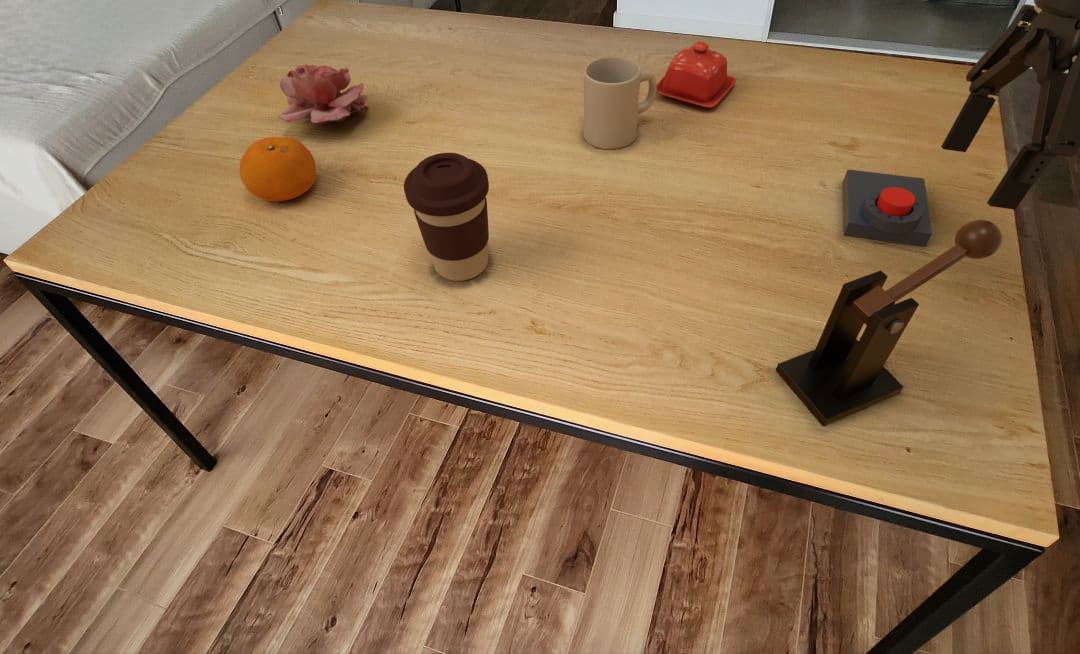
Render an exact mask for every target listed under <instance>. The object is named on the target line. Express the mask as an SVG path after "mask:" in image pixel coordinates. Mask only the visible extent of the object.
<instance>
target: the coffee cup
mask: <svg viewBox="0 0 1080 654" xmlns="http://www.w3.org/2000/svg"><path fill="white" fill-rule="evenodd" d="M489 189H490V183H489V175H488V171H487V170H486V168H485V167H484V165H482V164H481V163H480V162H478V161H476V160H474V159H472V158H468V157H467V156H466V155H463V154H460V153H456V152H441V153H436V154H433V155H430V156H428V157H425V158H424V159H422V160H420V162H419V163H418V164H417V165H416V166H415V167H413V169H411V170H410V171H409V172H408V174H407V175H406V177H405V179H404V182H403V191H404V196H405V199H406V201H407V203H408V205H409V206H410V207H411V208H412V209H413V212H414V216H415V219H416V222H417V226H418V229H419V231H420V234H421V237H422V240H423V243H424V246H425V248H426V250H427V251H428V253H429V255H430V258H431V262H432V265H433V268H434V269H435V271H436V273H437V274H438V275H439V276H440V277H442V278H443V279H445V280H448V281H454V282H455V281H456V282H462V281H468V280H471V279H474V278H476V277H477V276H479V275H481V274H482V273H483V272H484V271H485V269H486V268H487V266H488V263H489V243H488V242H489V238H490V233H489V215H488V214H489V213H488V200H487V195H488V193H489Z"/></svg>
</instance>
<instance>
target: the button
mask: <svg viewBox="0 0 1080 654" xmlns="http://www.w3.org/2000/svg"><path fill="white" fill-rule="evenodd" d="M914 202H915V197H914V195H913V194H912V193H911V192H909V191H908V190H905V189H903V188H899V187H889V188H886V189H884V190H883V191H882V192H881V194H880V197H879V199H878V201H877V208H878V209H879V210H880V211H881V212H884V213H886V214H888V215H890V216H897V217H903V216H906V215H908V214H909V212H910V210H911V208H912V206H913V204H914Z"/></svg>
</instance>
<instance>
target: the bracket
mask: <svg viewBox="0 0 1080 654" xmlns="http://www.w3.org/2000/svg"><path fill="white" fill-rule="evenodd" d="M887 279H888V275H887V274H886V273H885V272H883V271H882V270H878V271H875V272H873V273H870V274H867V275H864V276H861V277H859V278H857V279H852V280H851V281H847V282H845V283H843V285H842V287H841V289H840V292H839V294H838V296H837V298H836V300H835V303H834V305H833V307H832V310H831V312H830V314H829V317H828V319H827V321H826V323H825V325H824V328H823V331H822V333H821V335H820V337H819V339H818V342H817V345H816V346H815V349H812V350H811V351H807V352H804V353H802V354H799V355H797V356H794V357H792V358H790V359H787V360H784V361H781V362H779V363H778V364H777V365H776V369H775V372H776V373H777V374H778V375H779V376H780V377H781V378H782V380H783V381H784V382H785V383H786V384H787V385H788V387H789V388H790V389H791V390H792V392H793V393H794V394H795V395H796V396H797V397H798V399H799V400H800V401H801V402H802V403H803V405H804V406H805V407H806V408H807V409H808V411H810V413H811V414H812V415H813V417H815V419H816V420H817V421H818V422H819V424H820V425H821V426H822V427H824V426H827V425H829V424H832V423H834V422H836V421H838V420H841V419H843V418H845V417H848V416H850V415H852V414H854V413H857V412H859V411H862V410H864V409H866V408H868V407H871V406H873V405H876V404H878V403H881V402H882V401H885V400H887V399H890V398H893V397H894V396H897V395H899V394H901V393H902V391H903V389H904V387H905V386H904V385H903V384H902V383H901V382H900V381H899V380H898V379H897V378H896V377H895V376H894V375H893V374H892V373H891V372H890V371H889V370H888V369H887V368H886V367H885V364H886V362H887V360H888V359H889V357H890V356H891V354H892V352H893V350H895V347H896V345H897V344H898V342H899V341H900V338H901V337H902V335H903V333H904V332H905V330H906V328H907V327H908V325H909V323H910V321H911V320H912V318H913V316H914V314H915V312H916V311H917V309H918V307H919V306H920V304H919V302H918V301H916V300H915V299H914V298H913V297H909V298H907V299H904V300H902V301H898V302H897V303H896V302H895V304H894V305H891V306H889V307H886V308H884V309H881V310H878V311H876V312H874V313H873V314H872V316H871V318H870V320H869V322H868V324H867V325H865V323H864V322H863V321H862V320H861V319H860V318H859V317H858V316H857V315H855V313H854V304H853V302H854V301H855V300H857V299H858V298H860V297H861V296H863V295H864V294H866V293H867V292H869V291H870V290H872V289H874V288H875V287H877V286H878V285H879V286H880V287H881V288H882V289H883V287H884V285H885V283H886V281H887ZM864 325H865V328H864V329H863V327H864ZM862 329H863V330H864V331H863V332H862V334H861V336H860V338H859V340H858V336H859V335H860V333H861V331H862Z"/></svg>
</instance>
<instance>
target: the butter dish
mask: <svg viewBox="0 0 1080 654" xmlns="http://www.w3.org/2000/svg"><path fill="white" fill-rule="evenodd" d="M736 82H737V78H735V76H731V75H728V58H727V57H726V56H725V55H723V54H722V53H721V52H718V51H716V50H713V49H710V46H709V44H708V43H707V42H705V41H701V40H699V41H696V42H694V43H693V44H692V46H688V47H685V48H683V49H681V50H680V51H679V52H677V53H676V54H675V55H674V57H673V58H672V59H671V61H670V62H669V64H668V66H667V70H666V72H665V75H664V76H663V77H662V78H661V79H660V80H659V81H658V82H657V83H656V94H658V95H661V96H664V97H668V98H672V99H676V100H679V101H681V102H682V101H683V102H686V103H689V104H692V105H696V106H699V107H703V108H709V109H711V108H714V107H715V106H717V105H718V104H719V103H720V101H721V100H722V99H723V98H725V96H726V95H727V94H728V92H729V91H730V90H731V89H732V88H733V87H734V85H735V84H736Z"/></svg>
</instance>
